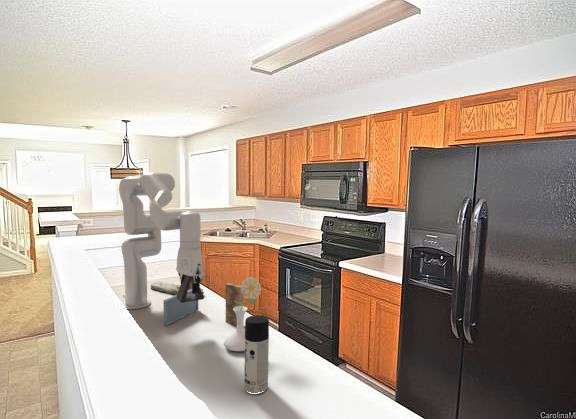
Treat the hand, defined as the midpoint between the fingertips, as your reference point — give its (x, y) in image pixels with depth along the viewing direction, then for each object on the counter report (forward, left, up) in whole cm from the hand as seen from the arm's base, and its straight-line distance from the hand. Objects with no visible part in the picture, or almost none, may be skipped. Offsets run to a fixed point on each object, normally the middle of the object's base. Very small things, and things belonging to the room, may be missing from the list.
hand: (190, 290), depth 132 cm
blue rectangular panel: (-14, +7, -16) cm, 22 cm away
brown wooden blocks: (-6, +16, -16) cm, 24 cm away
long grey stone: (-45, +27, -17) cm, 55 cm away
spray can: (+44, -13, -16) cm, 49 cm away
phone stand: (0, 0, -3) cm, 3 cm away
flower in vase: (+24, +3, -16) cm, 30 cm away
